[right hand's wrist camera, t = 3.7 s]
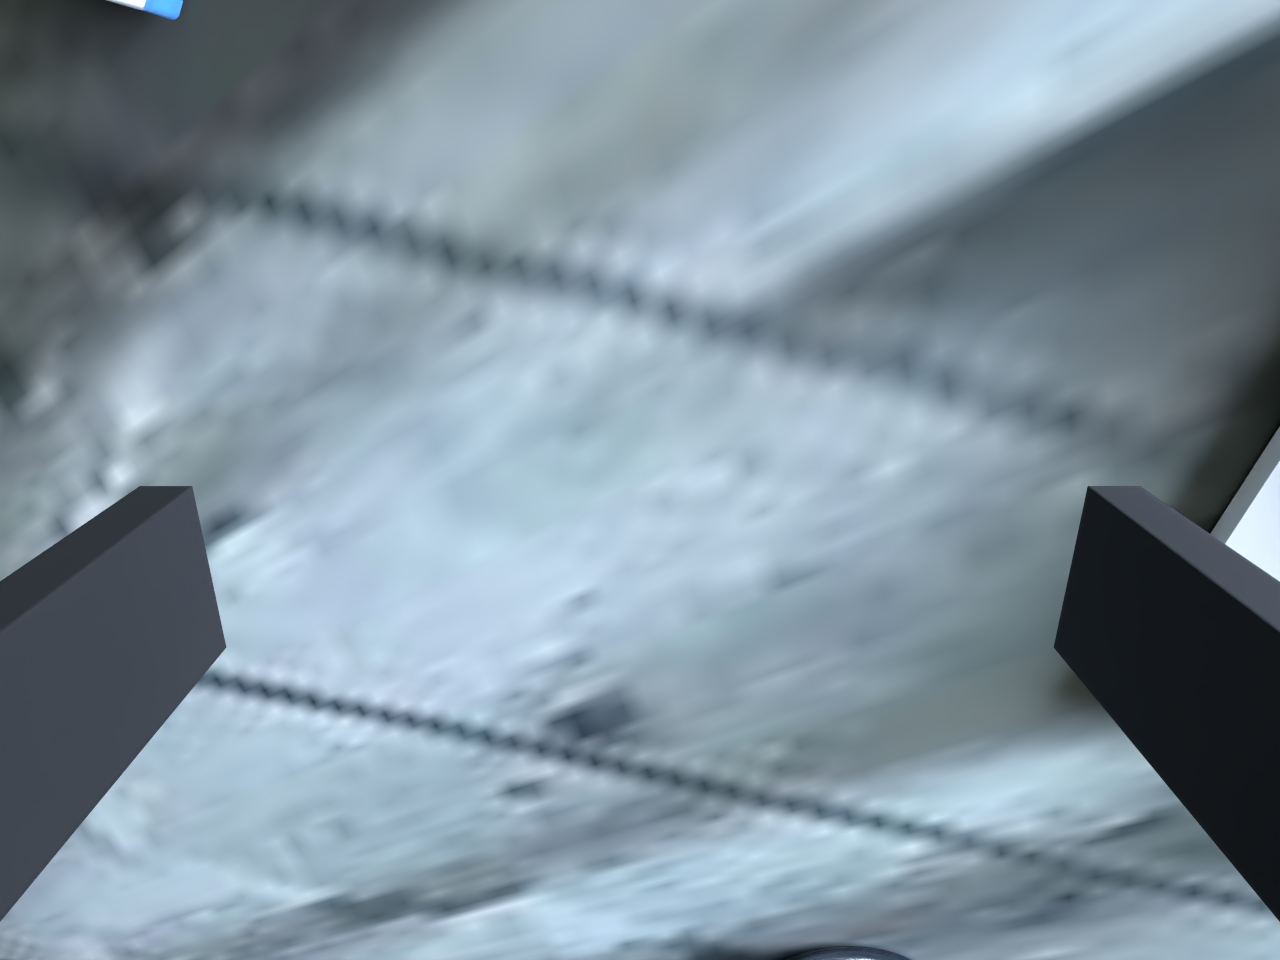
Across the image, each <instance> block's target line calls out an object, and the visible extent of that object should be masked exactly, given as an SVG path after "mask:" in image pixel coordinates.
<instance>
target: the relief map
mask: <svg viewBox="0 0 1280 960" xmlns="http://www.w3.org/2000/svg"><path fill="white" fill-rule="evenodd" d="M1211 535H1212V536H1214V537H1215V538H1217V539H1218V540H1220V541H1221V542H1223V543H1224V544H1225V545H1227V546H1228V547H1230V548H1231V549H1233V550H1234V551H1236V552H1237V553H1239V554H1240V555H1242V556H1243V557H1245V558H1246V559H1247V560H1249V561H1250V562H1252V563H1253V564H1255V565H1256V566H1258V567H1259V568H1261V569H1262V570H1264V571H1265V572H1267V573H1268V574H1269V575H1271V576H1272V577H1274V578H1275V579H1277V580H1278V581H1280V427H1279V428H1278V430H1277V431H1276V433H1275V434H1274V436H1273V438H1272V439H1271V441H1270V442H1269V444H1268V445H1267V447H1266V448H1265V450H1264V452H1263V453H1262V455H1261V456H1260V458H1259V459H1258V461H1257V462H1256V464H1255V465H1254V467H1253V469H1252V470H1251V472H1250V473H1249V475H1248V476H1247V478H1246V479H1245V481H1244V483H1243V484H1242V486H1241V487H1240V489H1239V490H1238V492H1237V493H1236V495H1235V496H1234V498H1233V500H1232V501H1231V503H1230V504H1229V506H1228V507H1227V509H1226V510H1225V512H1224V513H1223V515H1222V517H1221V518H1220V520H1219V521H1218V523H1217V524H1216V526H1215V527H1214V529H1213V531H1212V532H1211Z"/></svg>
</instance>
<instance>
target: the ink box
mask: <svg viewBox="0 0 1280 960" xmlns="http://www.w3.org/2000/svg"><path fill="white" fill-rule="evenodd" d="M107 1H111V2H114V3H117V4H121V5H124V6H128V7H131V8H135V9H138V10H142V11H145V12H148V13H152V14H155V15H158V16H162V17H165V18H168V19H171V20H175V19H176V18H177V17H178V16H179V14H180V10H181V7H182V3H183V0H107Z"/></svg>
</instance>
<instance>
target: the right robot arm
mask: <svg viewBox="0 0 1280 960" xmlns="http://www.w3.org/2000/svg"><path fill="white" fill-rule="evenodd" d="M225 648H226V644H225V639H224V635H223V630H222V625H221V620H220V616H219V611H218V606H217V601H216V597H215V592H214V587H213V583H212V578H211V573H210V568H209V564H208V559H207V554H206V549H205V545H204V540H203V535H202V531H201V526H200V521H199V516H198V512H197V507H196V502H195V497H194V493H193V488H192V486H140V487H138V488H137V489H135V490H134V491H132V492H131V493H129V494H128V495H126V496H125V497H123V498H122V499H120V500H119V501H118V502H116V503H115V504H113V505H112V506H110V507H109V508H107V509H106V510H104V511H103V512H101V513H100V514H98V515H97V516H96V517H94V518H93V519H91V520H90V521H88V522H87V523H85V524H84V525H82V526H81V527H79V528H78V529H76V530H75V531H74V532H72V533H71V534H69V535H68V536H66V537H65V538H63V539H62V540H60V541H59V542H57V543H56V544H54V545H53V546H52V547H50V548H49V549H47V550H46V551H44V552H43V553H41V554H40V555H38V556H37V557H35V558H34V559H33V560H31V561H30V562H28V563H27V564H25V565H24V566H22V567H21V568H19V569H18V570H16V571H15V572H13V573H12V574H11V575H9V576H8V577H6V578H5V579H3V580H2V581H0V921H1V920H2V919H3V918H4V916H5V915H6V914H7V913H8V912H9V910H10V909H11V908H12V907H13V906H14V904H15V903H16V902H17V901H18V899H19V898H20V897H21V896H22V895H23V893H24V892H25V891H26V890H27V889H28V887H29V886H30V885H31V884H32V882H33V881H34V880H35V879H36V878H37V876H38V875H39V874H40V873H41V872H42V870H43V869H44V868H45V867H46V865H47V864H48V863H49V862H50V861H51V859H52V858H53V857H54V856H55V855H56V853H57V852H58V851H59V850H60V848H61V847H62V846H63V845H64V844H65V842H66V841H67V840H68V839H69V838H70V836H71V835H72V834H73V833H74V831H75V830H76V829H77V828H78V827H79V825H80V824H81V823H82V822H83V821H84V819H85V818H86V817H87V816H88V814H89V813H90V812H91V811H92V810H93V808H94V807H95V806H96V805H97V804H98V802H99V801H100V800H101V799H102V798H103V796H104V795H105V794H106V793H107V791H108V790H109V789H110V788H111V787H112V785H113V784H114V783H115V782H116V781H117V779H118V778H119V777H120V776H121V774H122V773H123V772H124V771H125V770H126V768H127V767H128V766H129V765H130V764H131V762H132V761H133V760H134V759H135V757H136V756H137V755H138V754H139V753H140V751H141V750H142V749H143V748H144V747H145V745H146V744H147V743H148V742H149V740H150V739H151V738H152V737H153V736H154V734H155V733H156V732H157V731H158V730H159V728H160V727H161V726H162V725H163V723H164V722H165V721H166V720H167V719H168V717H169V716H170V715H171V714H172V713H173V711H174V710H175V709H176V708H177V706H178V705H179V704H180V703H181V702H182V700H183V699H184V698H185V697H186V696H187V694H188V693H189V692H190V691H191V689H192V688H193V687H194V686H195V685H196V683H197V682H198V681H199V680H200V679H201V677H202V676H203V675H204V674H205V672H206V671H207V670H208V669H209V668H210V666H211V665H212V664H213V663H214V662H215V660H216V659H217V658H218V657H219V655H220V654H221V653H222V652H223V651H224V649H225ZM1054 648H1055V649H1056V651H1057V652H1058V653H1059V654H1060V655H1061V657H1062V658H1063V659H1064V660H1065V662H1066V663H1067V664H1068V665H1069V666H1070V668H1071V669H1072V670H1073V671H1074V672H1075V674H1076V675H1077V676H1078V677H1079V679H1080V680H1081V681H1082V682H1083V683H1084V685H1085V686H1086V687H1087V688H1088V689H1089V691H1090V692H1091V693H1092V694H1093V696H1094V697H1095V698H1096V699H1097V700H1098V702H1099V703H1100V704H1101V705H1102V706H1103V708H1104V709H1105V710H1106V711H1107V713H1108V714H1109V715H1110V716H1111V717H1112V719H1113V720H1114V721H1115V722H1116V723H1117V725H1118V726H1119V727H1120V728H1121V730H1122V731H1123V732H1124V733H1125V734H1126V736H1127V737H1128V738H1129V739H1130V740H1131V742H1132V743H1133V744H1134V745H1135V747H1136V748H1137V749H1138V750H1139V751H1140V753H1141V754H1142V755H1143V756H1144V757H1145V759H1146V760H1147V761H1148V762H1149V764H1150V765H1151V766H1152V767H1153V768H1154V770H1155V771H1156V772H1157V773H1158V774H1159V776H1160V777H1161V778H1162V779H1163V781H1164V782H1165V783H1166V784H1167V785H1168V787H1169V788H1170V789H1171V790H1172V791H1173V793H1174V794H1175V795H1176V796H1177V798H1178V799H1179V800H1180V801H1181V802H1182V804H1183V805H1184V806H1185V807H1186V808H1187V810H1188V811H1189V812H1190V813H1191V815H1192V816H1193V817H1194V818H1195V819H1196V821H1197V822H1198V823H1199V824H1200V825H1201V827H1202V828H1203V829H1204V830H1205V831H1206V833H1207V834H1208V835H1209V836H1210V838H1211V839H1212V840H1213V841H1214V842H1215V844H1216V845H1217V846H1218V847H1219V848H1220V850H1221V851H1222V852H1223V853H1224V855H1225V856H1226V857H1227V858H1228V859H1229V861H1230V862H1231V863H1232V864H1233V865H1234V867H1235V868H1236V869H1237V870H1238V872H1239V873H1240V874H1241V875H1242V876H1243V878H1244V879H1245V880H1246V881H1247V882H1248V884H1249V885H1250V886H1251V887H1252V889H1253V890H1254V891H1255V892H1256V893H1257V895H1258V896H1259V897H1260V898H1261V899H1262V901H1263V902H1264V903H1265V904H1266V906H1267V907H1268V908H1269V909H1270V910H1271V912H1272V913H1273V914H1274V915H1275V916H1276V918H1277V919H1278V920H1279V921H1280V581H1278V580H1277V579H1275V578H1274V577H1272V576H1271V575H1269V574H1268V573H1267V572H1265V571H1264V570H1262V569H1261V568H1259V567H1258V566H1256V565H1255V564H1253V563H1252V562H1250V561H1249V560H1247V559H1246V558H1245V557H1243V556H1242V555H1240V554H1239V553H1237V552H1236V551H1234V550H1233V549H1231V548H1230V547H1228V546H1227V545H1225V544H1224V543H1223V542H1221V541H1220V540H1218V539H1217V538H1215V537H1214V536H1212V535H1211V534H1209V533H1208V532H1206V531H1205V530H1204V529H1202V528H1201V527H1199V526H1198V525H1196V524H1195V523H1193V522H1192V521H1190V520H1189V519H1187V518H1186V517H1184V516H1183V515H1182V514H1180V513H1179V512H1177V511H1176V510H1174V509H1173V508H1171V507H1170V506H1168V505H1167V504H1165V503H1164V502H1162V501H1161V500H1160V499H1158V498H1157V497H1155V496H1154V495H1152V494H1151V493H1149V492H1148V491H1146V490H1145V489H1143V488H1142V487H1140V486H1088V488H1087V493H1086V497H1085V502H1084V507H1083V512H1082V516H1081V521H1080V526H1079V531H1078V535H1077V540H1076V545H1075V549H1074V554H1073V559H1072V564H1071V568H1070V573H1069V578H1068V583H1067V587H1066V592H1065V597H1064V601H1063V606H1062V611H1061V616H1060V620H1059V625H1058V630H1057V635H1056V639H1055V644H1054ZM784 960H910V959H908V958H906V957H904V956H901V955H899V954H896V953H893V952H889V951H885V950H881V949H875V948H869V947H857V946H842V947H829V948H822V949H817V950H812V951H808V952H804V953H801V954H798V955H795V956H792V957H789V958H787V959H784Z"/></svg>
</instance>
